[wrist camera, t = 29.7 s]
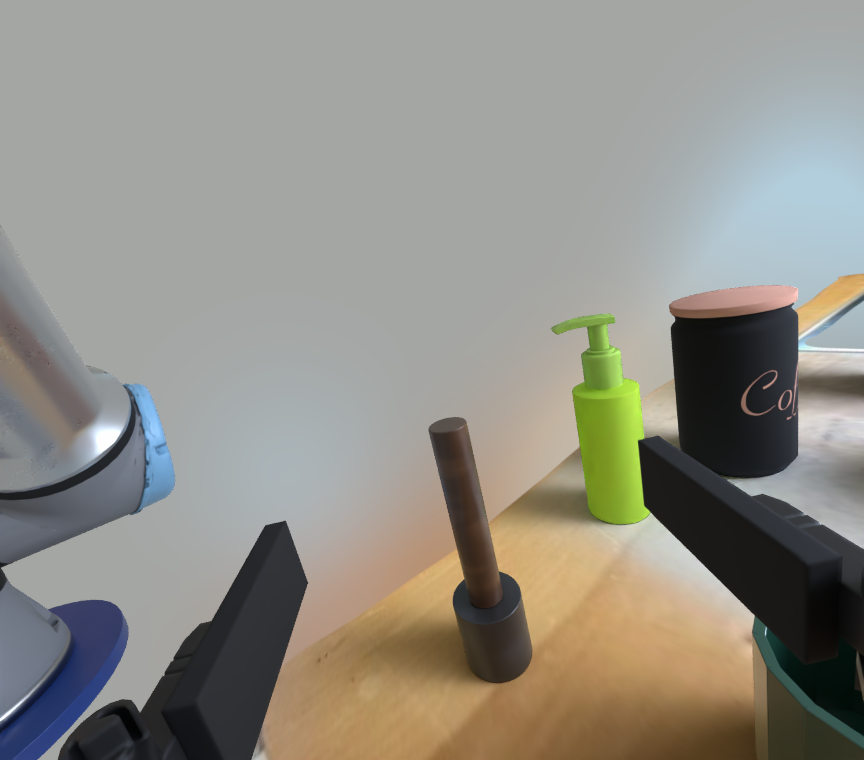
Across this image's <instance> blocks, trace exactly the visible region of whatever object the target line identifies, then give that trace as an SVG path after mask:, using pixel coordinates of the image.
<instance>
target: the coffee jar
mask: <svg viewBox="0 0 864 760" xmlns="http://www.w3.org/2000/svg"><path fill="white" fill-rule="evenodd" d="M797 296H798V289H797V288H794V287H791V286H781V285H765V286H764V285H762V286H748V287H738V288H730V289H722V290H716V291H711V292H705V293H700V294H695V295H691V296H688V297H684V298H681V299H678V300H676V301H674V302H672V303H671V304H670V305H669V309H670V312H671V314H672V315H673V316H674V317H675V322H674V323H673V325H672V326H671V340H672V352H673V365H674V379H675V391H676V404H677V417H678V430H679V443H680V447H681V450H682V452H684V453H685V454H687V455H689V456H690V457H692V458H693V459H695V460H696V461H698V462H699V463H701V464H702V465H704V466H705V467H707V468H708V469H710V470H712V471H713V472H715V473H717V474H720V475H726V476H734V477H760V476H767V475H772V474H775V473H778V472H780V471H783V470H784V469H785V468H786V467H787V466H788V465H789V464H790V463H791V462H792V461H794V460H795V459H796V457H797V456H798V314H797V312H795V311H794V310H793V309H792V308H791V307H792V305H793V304H794V302H795V301H797Z"/></svg>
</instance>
